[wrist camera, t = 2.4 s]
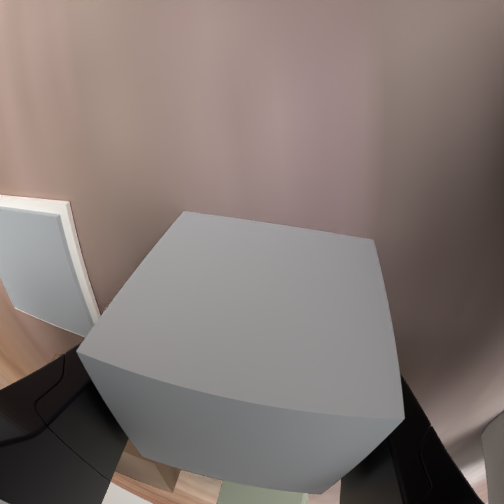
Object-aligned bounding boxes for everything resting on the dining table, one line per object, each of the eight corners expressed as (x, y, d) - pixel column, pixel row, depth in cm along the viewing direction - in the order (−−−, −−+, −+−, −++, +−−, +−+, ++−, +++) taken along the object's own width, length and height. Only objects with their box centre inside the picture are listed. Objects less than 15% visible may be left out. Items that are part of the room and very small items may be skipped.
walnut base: (180, 397, 15) (154, 463, 11) (188, 446, 19) (172, 493, 16) (58, 350, 15) (25, 399, 12) (93, 411, 20) (73, 450, 17)
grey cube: (373, 238, 8) (404, 418, 4) (331, 359, 10) (320, 494, 6) (184, 209, 8) (76, 351, 4) (194, 334, 11) (142, 456, 7)
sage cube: (308, 457, 16) (296, 528, 12) (310, 477, 19) (302, 535, 15) (230, 451, 17) (212, 517, 13) (246, 472, 20) (233, 527, 16)
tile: (69, 201, 9) (62, 207, 8) (111, 342, 13) (107, 349, 12) (-26, 193, 10) (-32, 196, 9) (16, 305, 13) (12, 310, 13)
